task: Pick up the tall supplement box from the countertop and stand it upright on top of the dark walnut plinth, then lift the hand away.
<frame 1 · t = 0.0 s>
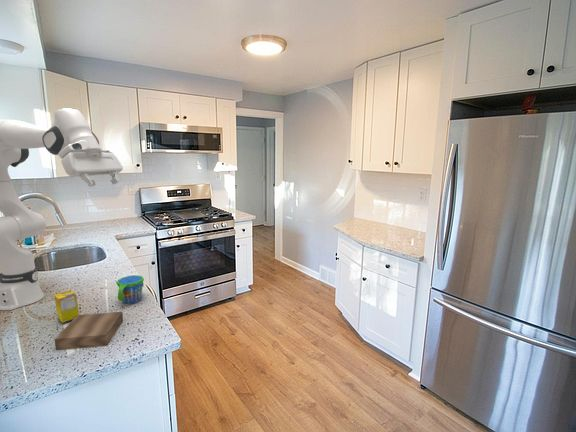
hand: (104, 184, 110), 54 cm above the counter, tool tilted 30°, fingers open, 8 cm apart
walnut plinth: (92, 334, 113), on the counter
supplement box: (68, 319, 123), on the counter
snack cup: (132, 300, 139), on the counter
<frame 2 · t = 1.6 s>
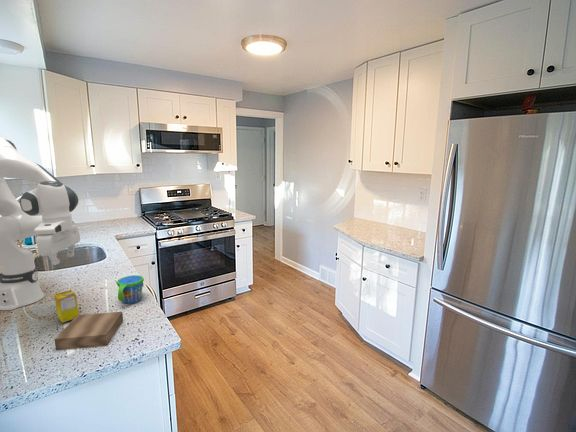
hand: (63, 260, 117), 25 cm above the counter, tool pointing down, fingers open, 8 cm apart
nothing on the counter moved.
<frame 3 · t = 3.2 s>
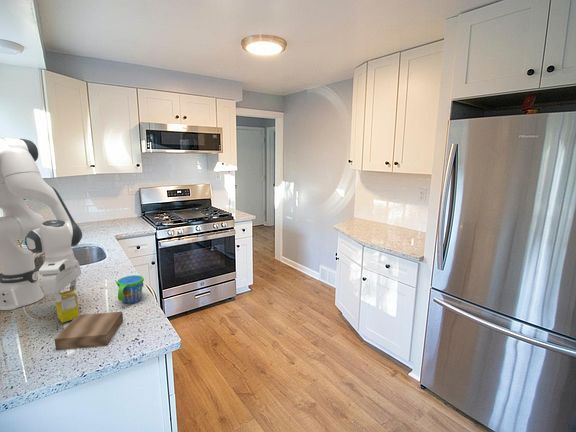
hand: (66, 295, 120), 10 cm above the counter, tool pointing down, fingers open, 8 cm apart
supplement box: (68, 319, 123), on the counter, touching gripper
everything else where it was.
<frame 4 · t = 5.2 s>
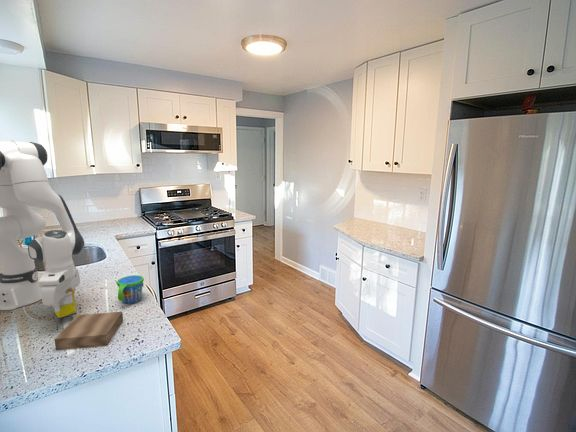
hand: (65, 304, 122), 6 cm above the counter, tool pointing down, fingers closed on supplement box, 8 cm apart
supplement box: (65, 315, 123), point 2 cm above the counter, touching gripper
everything else where it was.
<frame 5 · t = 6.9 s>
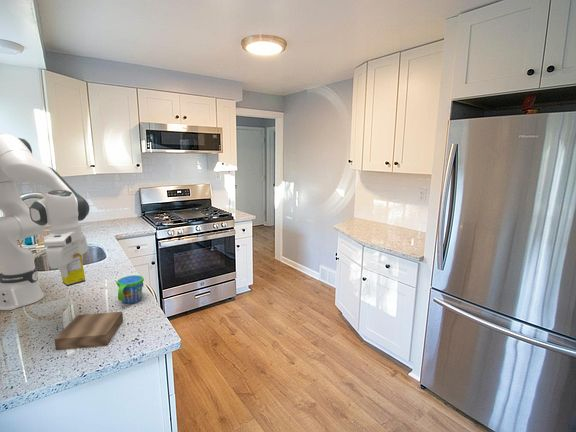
hand: (72, 271, 113), 22 cm above the counter, tool pointing down, fingers closed on supplement box, 8 cm apart
supplement box: (74, 282, 114), point 18 cm above the counter, touching gripper
everything else where it was.
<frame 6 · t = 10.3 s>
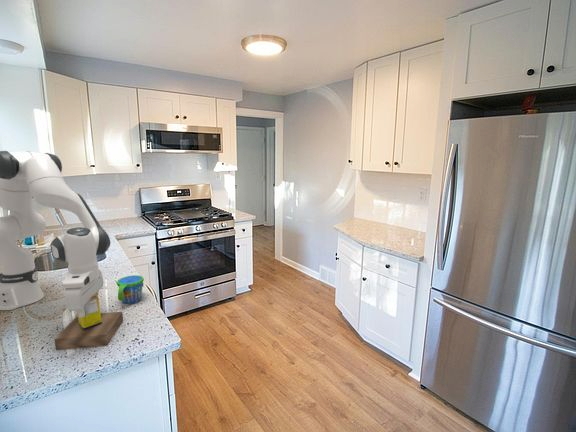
hand: (88, 309, 111), 10 cm above the counter, tool pointing down, fingers closed on supplement box, 8 cm apart
supplement box: (90, 324, 112), point 4 cm above the counter, touching gripper, walnut plinth
everything else where it was.
when the fingers open (11 cm above the counter, at t = 10.6 s): supplement box stays where it is, resting on walnut plinth.
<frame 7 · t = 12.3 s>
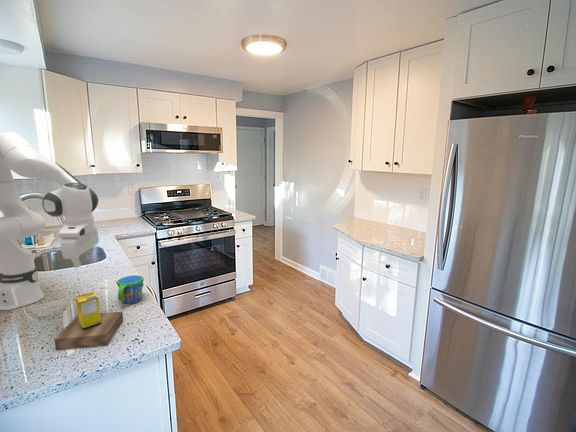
hand: (83, 262, 117), 25 cm above the counter, tool pointing down, fingers open, 8 cm apart
supplement box: (90, 324, 112), point 4 cm above the counter, touching walnut plinth
everything else where it was.
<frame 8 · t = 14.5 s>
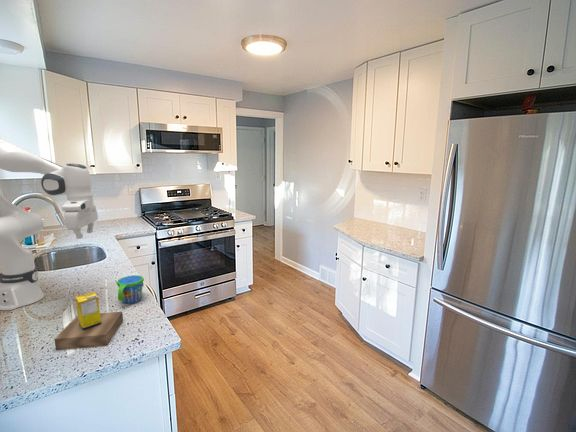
hand: (85, 235, 130), 31 cm above the counter, tool pointing down, fingers open, 8 cm apart
nothing on the counter moved.
at the end: supplement box inside the target area on the walnut plinth (0.4 cm from its centre), point 3.8 cm above the walnut plinth's base; supplement box tilted 0°; the gripper is holding nothing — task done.
